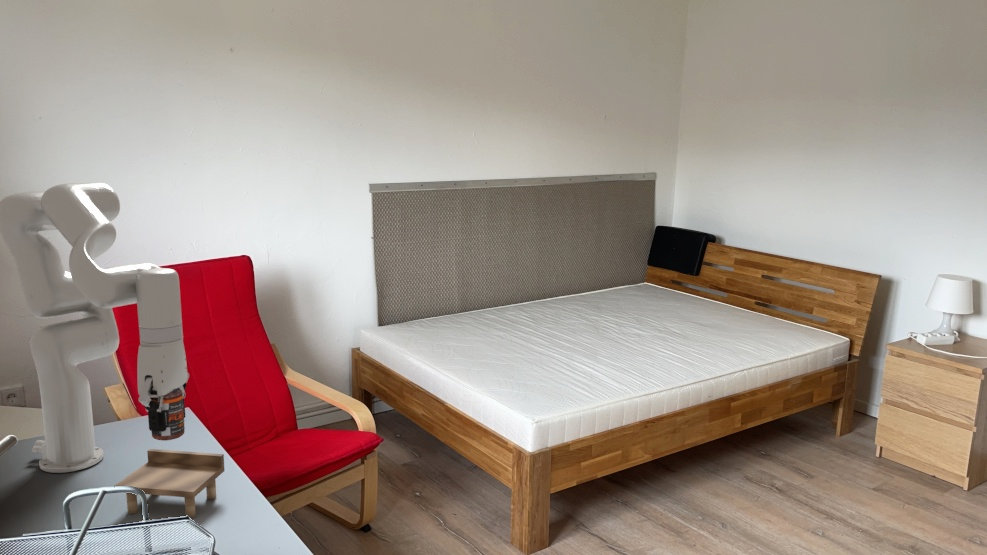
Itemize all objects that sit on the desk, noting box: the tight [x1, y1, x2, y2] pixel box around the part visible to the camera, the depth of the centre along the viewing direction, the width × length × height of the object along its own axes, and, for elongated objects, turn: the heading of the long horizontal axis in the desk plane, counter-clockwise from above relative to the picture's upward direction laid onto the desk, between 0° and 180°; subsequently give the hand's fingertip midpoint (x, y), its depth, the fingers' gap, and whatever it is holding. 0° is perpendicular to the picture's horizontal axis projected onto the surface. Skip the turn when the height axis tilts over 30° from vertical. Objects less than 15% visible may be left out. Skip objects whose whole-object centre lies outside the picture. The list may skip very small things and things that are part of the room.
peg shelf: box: [114, 448, 225, 520], centre depth 151 cm, size 16×12×9 cm
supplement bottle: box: [151, 388, 186, 441], centre depth 149 cm, size 6×6×11 cm
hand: (167, 423), depth 149 cm, fingers closed on supplement bottle, 6 cm apart
